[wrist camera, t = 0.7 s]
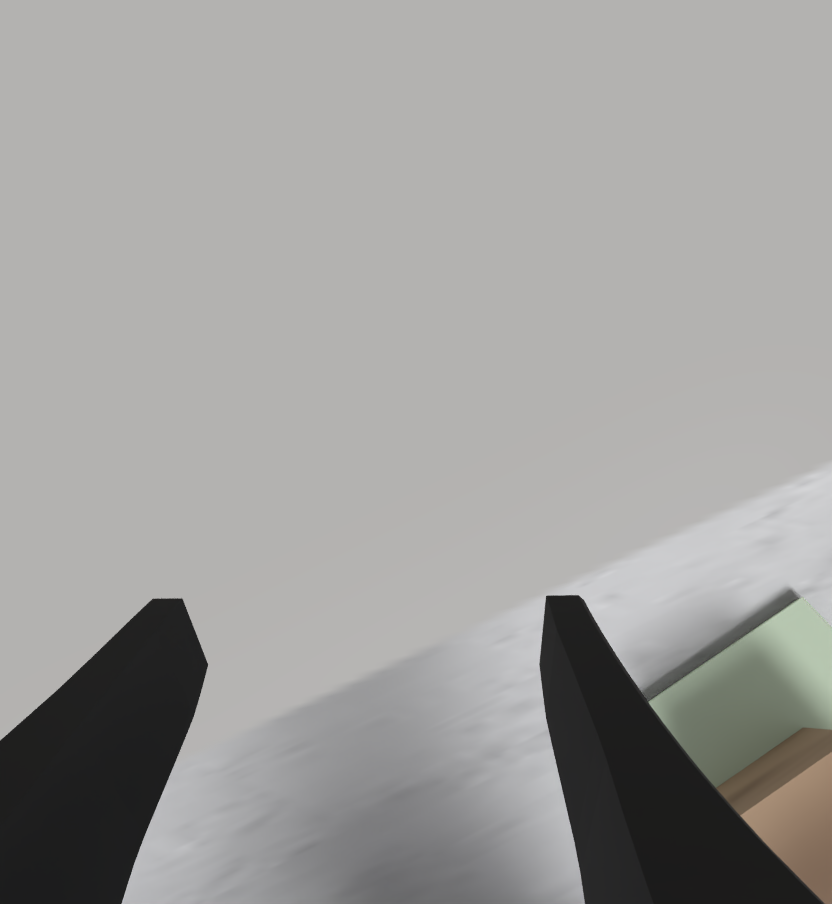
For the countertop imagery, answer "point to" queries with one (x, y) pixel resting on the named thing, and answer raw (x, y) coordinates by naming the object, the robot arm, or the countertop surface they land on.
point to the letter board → (753, 693)
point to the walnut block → (791, 804)
